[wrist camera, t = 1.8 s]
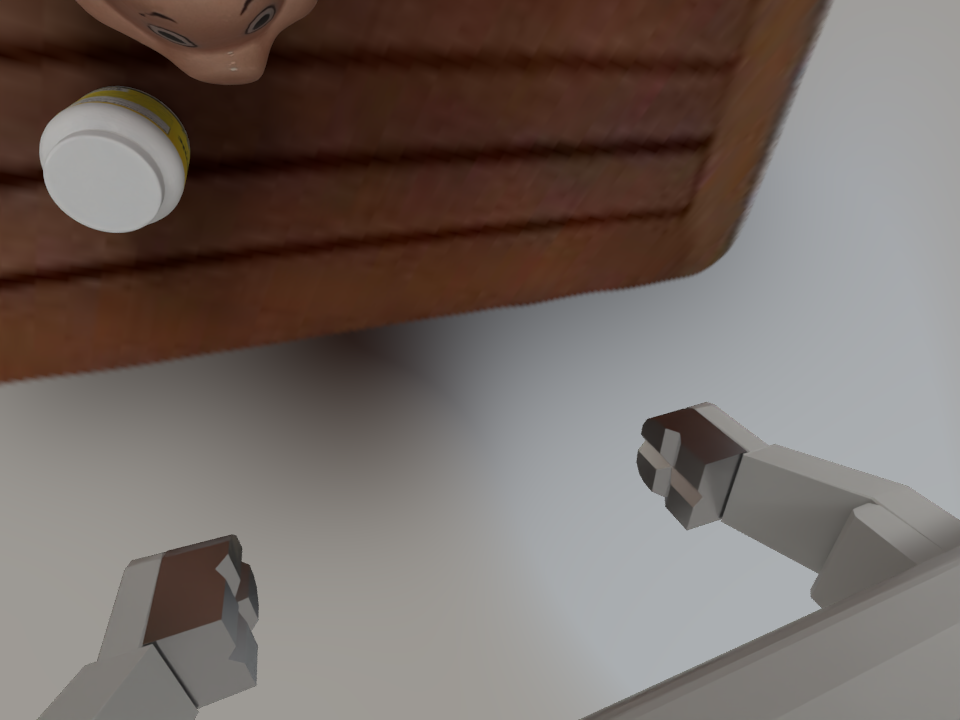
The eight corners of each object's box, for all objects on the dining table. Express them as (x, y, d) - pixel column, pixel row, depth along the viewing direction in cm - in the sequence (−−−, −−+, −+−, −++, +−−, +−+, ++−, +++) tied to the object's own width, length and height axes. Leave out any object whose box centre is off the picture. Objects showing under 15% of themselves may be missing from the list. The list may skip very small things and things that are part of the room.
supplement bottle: (171, 204, 30) (152, 269, 23) (60, 154, 27) (-4, 210, 19) (207, 124, 28) (200, 165, 21) (95, 60, 25) (40, 82, 18)
